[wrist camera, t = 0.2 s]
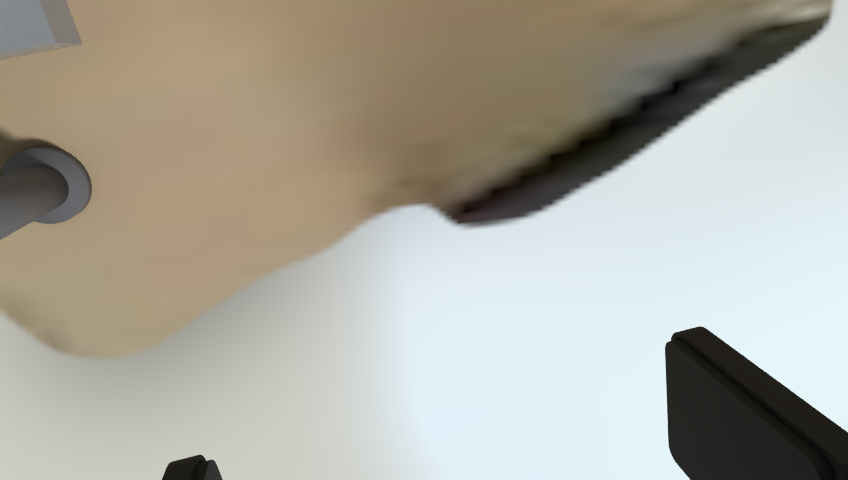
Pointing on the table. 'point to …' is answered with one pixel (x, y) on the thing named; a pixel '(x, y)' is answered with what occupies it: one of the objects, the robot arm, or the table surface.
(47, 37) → the switch panel
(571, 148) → the table surface
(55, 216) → the cable post
